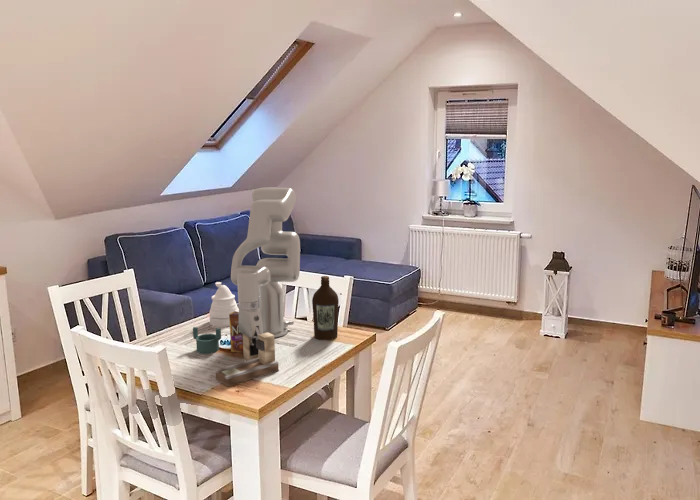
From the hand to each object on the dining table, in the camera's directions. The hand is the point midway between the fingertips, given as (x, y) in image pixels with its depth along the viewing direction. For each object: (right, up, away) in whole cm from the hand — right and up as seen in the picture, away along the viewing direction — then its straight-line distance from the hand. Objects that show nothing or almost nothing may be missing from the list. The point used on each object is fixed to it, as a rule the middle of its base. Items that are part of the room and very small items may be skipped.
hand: (250, 352), depth 216 cm
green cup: (-18, -1, +11) cm, 21 cm away
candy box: (-4, -1, +9) cm, 10 cm away
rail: (+1, -5, -13) cm, 14 cm away
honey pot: (-19, +6, +44) cm, 48 cm away
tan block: (0, -3, +1) cm, 3 cm away
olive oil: (+26, +2, +25) cm, 36 cm away
